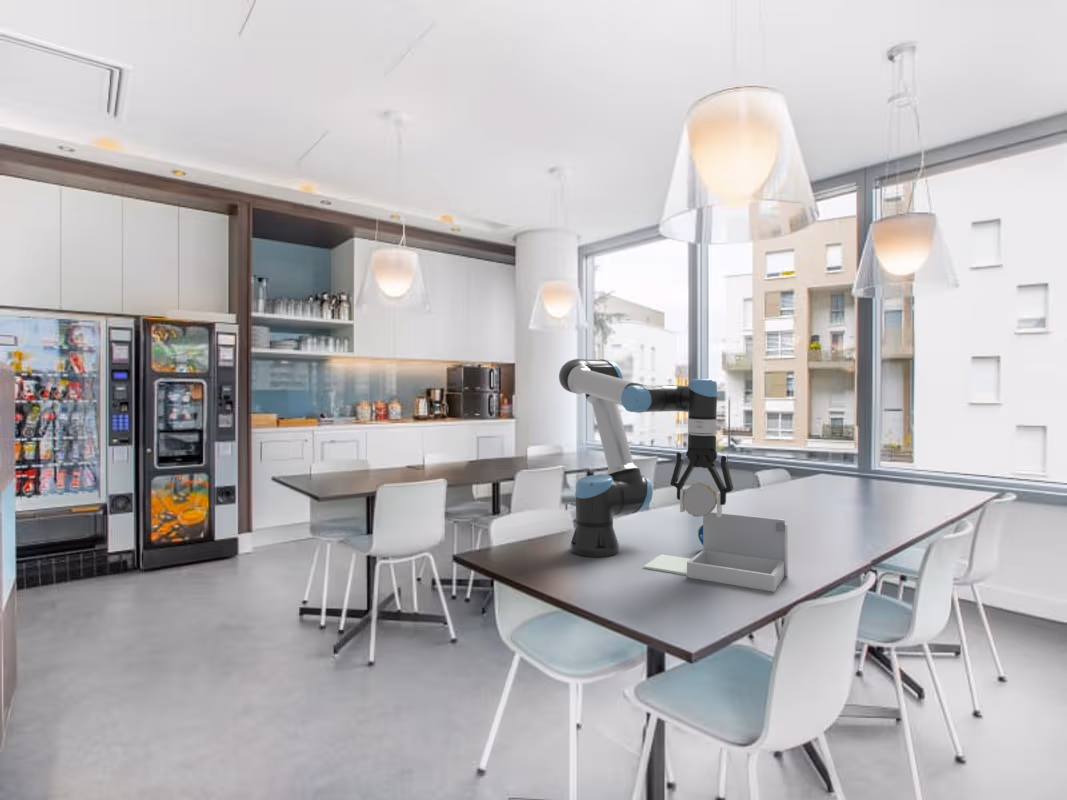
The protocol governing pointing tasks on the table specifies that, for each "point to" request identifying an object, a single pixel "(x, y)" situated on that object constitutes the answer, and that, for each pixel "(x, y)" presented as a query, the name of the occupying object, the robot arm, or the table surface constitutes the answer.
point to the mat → (669, 564)
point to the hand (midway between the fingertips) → (700, 513)
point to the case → (742, 551)
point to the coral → (699, 499)
